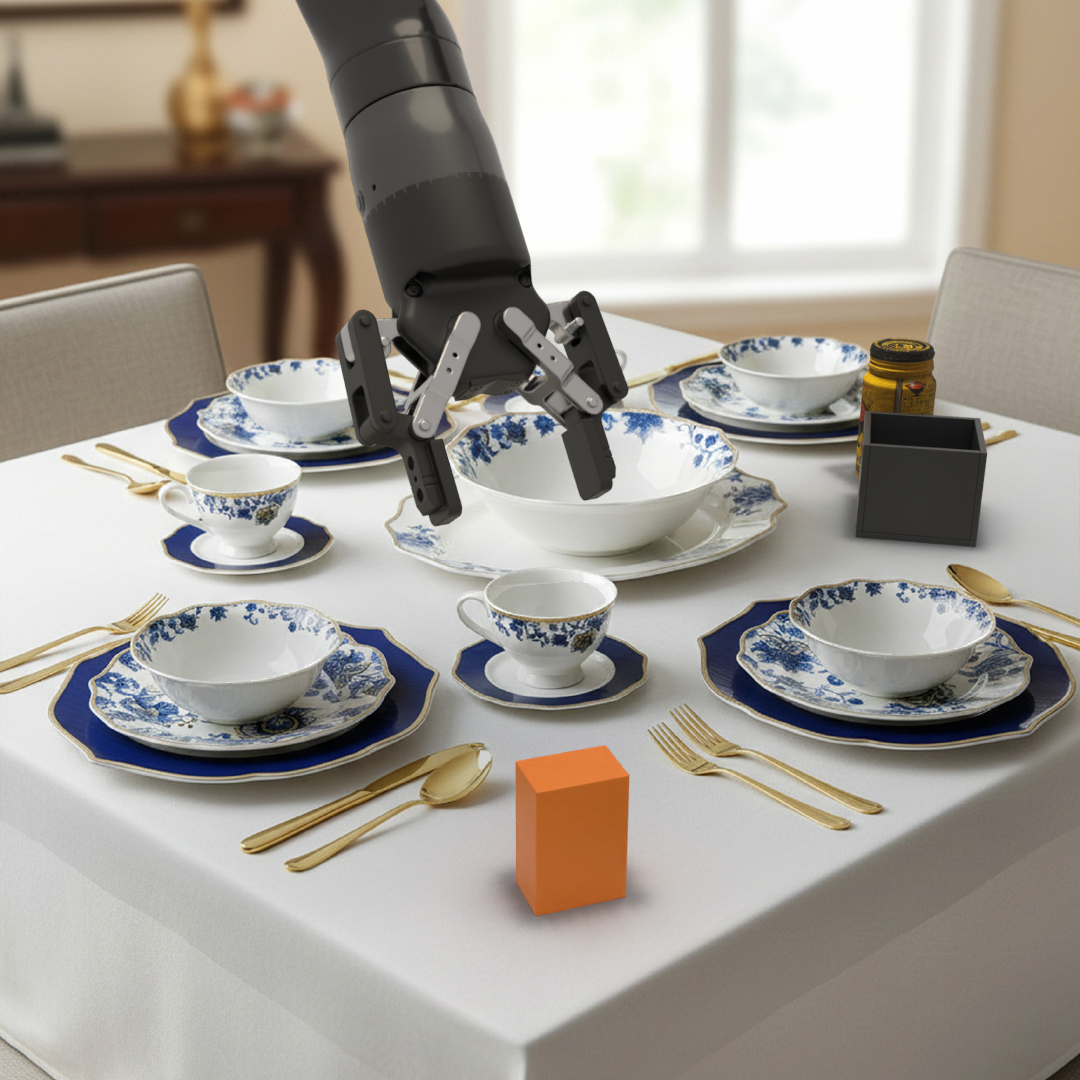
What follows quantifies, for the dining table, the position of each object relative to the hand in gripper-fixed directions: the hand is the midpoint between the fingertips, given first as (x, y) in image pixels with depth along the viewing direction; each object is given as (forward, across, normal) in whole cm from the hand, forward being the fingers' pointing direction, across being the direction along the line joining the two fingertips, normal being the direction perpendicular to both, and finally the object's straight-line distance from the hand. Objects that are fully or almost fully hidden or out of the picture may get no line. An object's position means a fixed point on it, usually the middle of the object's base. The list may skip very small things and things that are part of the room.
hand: (525, 507), depth 71 cm
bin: (+1, +49, +24) cm, 55 cm away
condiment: (-4, +56, +31) cm, 64 cm away
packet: (+18, -1, +4) cm, 19 cm away
